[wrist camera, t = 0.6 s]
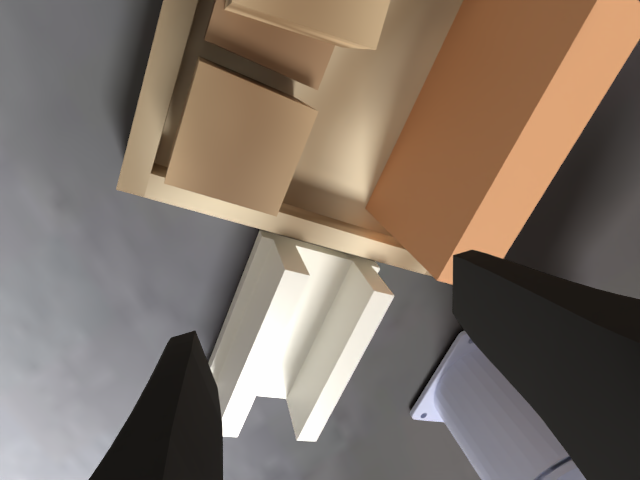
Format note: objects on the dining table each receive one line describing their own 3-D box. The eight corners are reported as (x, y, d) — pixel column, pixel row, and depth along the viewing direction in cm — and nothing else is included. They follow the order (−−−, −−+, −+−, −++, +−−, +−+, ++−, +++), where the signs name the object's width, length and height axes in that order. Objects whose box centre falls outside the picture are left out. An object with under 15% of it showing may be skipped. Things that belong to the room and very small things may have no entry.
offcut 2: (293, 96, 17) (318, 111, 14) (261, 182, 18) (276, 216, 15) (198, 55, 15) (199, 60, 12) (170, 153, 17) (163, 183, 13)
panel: (500, 22, 18) (654, 14, 12) (400, 219, 21) (482, 292, 15) (464, -2, 17) (610, -24, 11) (365, 208, 20) (437, 280, 14)
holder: (374, 261, 23) (404, 298, 20) (309, 391, 26) (325, 441, 23) (259, 229, 20) (272, 266, 17) (201, 379, 23) (202, 435, 20)
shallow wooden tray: (551, 7, 19) (596, 3, 17) (417, 256, 24) (439, 278, 22) (227, -229, 13) (233, -281, 11) (125, 170, 17) (116, 189, 15)
